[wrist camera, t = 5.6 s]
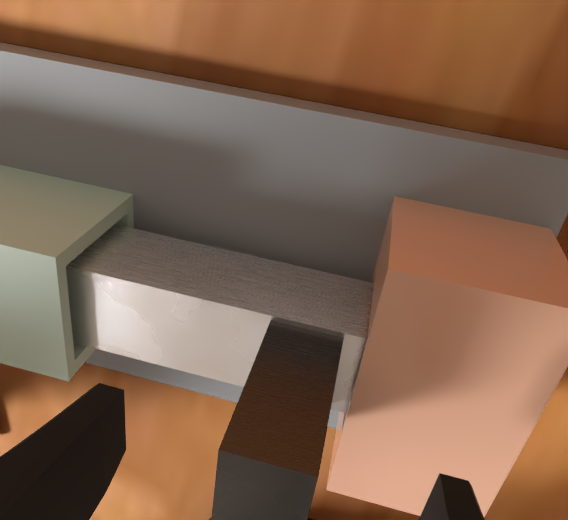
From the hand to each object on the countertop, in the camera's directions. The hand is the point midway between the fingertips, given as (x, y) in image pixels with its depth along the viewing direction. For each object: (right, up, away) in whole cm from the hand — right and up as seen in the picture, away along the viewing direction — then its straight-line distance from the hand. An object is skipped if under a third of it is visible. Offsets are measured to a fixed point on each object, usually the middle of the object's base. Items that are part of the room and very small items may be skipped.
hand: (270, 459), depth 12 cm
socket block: (+5, +3, +5) cm, 8 cm away
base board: (-3, +5, +7) cm, 9 cm away
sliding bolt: (-1, +4, +6) cm, 7 cm away
